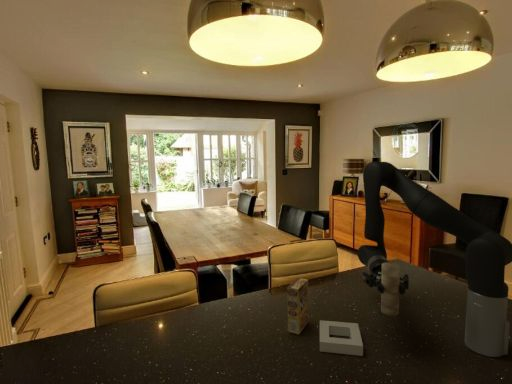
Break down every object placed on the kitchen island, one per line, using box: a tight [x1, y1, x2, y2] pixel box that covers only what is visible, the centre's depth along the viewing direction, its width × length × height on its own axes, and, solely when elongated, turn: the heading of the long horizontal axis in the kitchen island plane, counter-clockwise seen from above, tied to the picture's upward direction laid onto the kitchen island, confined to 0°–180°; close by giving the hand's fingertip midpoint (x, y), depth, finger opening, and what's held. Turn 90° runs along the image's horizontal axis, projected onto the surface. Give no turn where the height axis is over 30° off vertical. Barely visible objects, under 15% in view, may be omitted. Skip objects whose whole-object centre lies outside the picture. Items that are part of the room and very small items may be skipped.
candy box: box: [286, 277, 309, 335], centre depth 101 cm, size 9×4×15 cm, turn 150°
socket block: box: [319, 319, 364, 357], centre depth 93 cm, size 12×12×3 cm
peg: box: [380, 262, 401, 317], centre depth 89 cm, size 5×5×14 cm
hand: (392, 290), depth 86 cm, fingers closed on peg, 4 cm apart
